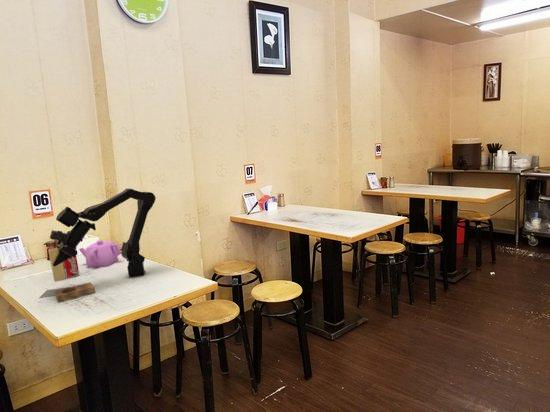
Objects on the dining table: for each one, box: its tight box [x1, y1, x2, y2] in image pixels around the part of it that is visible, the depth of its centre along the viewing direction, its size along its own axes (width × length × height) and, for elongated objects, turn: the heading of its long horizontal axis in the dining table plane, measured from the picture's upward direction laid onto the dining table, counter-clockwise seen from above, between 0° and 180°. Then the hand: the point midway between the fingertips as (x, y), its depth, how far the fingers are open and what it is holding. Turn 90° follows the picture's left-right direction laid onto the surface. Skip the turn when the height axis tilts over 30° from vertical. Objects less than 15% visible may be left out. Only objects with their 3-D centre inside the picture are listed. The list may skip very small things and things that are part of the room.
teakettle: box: [78, 239, 121, 269], centre depth 217 cm, size 17×17×12 cm
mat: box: [38, 286, 70, 299], centre depth 177 cm, size 10×10×1 cm
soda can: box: [63, 255, 80, 280], centre depth 198 cm, size 7×7×13 cm
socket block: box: [55, 281, 96, 303], centre depth 171 cm, size 14×8×3 cm, turn 124°
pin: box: [48, 247, 66, 283], centre depth 172 cm, size 4×4×13 cm
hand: (53, 264), depth 171 cm, fingers closed on pin, 4 cm apart
